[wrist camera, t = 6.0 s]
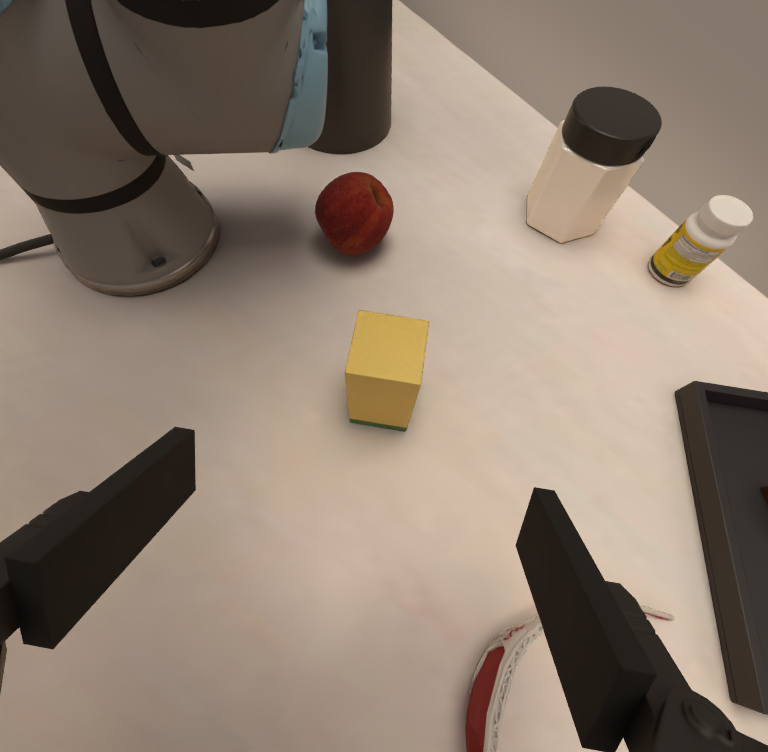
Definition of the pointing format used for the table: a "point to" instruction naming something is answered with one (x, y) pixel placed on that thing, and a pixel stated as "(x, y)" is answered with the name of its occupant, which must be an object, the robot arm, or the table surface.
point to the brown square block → (765, 492)
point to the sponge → (385, 369)
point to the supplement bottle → (700, 240)
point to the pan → (733, 523)
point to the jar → (591, 162)
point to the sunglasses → (502, 681)
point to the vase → (357, 75)
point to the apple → (354, 212)
